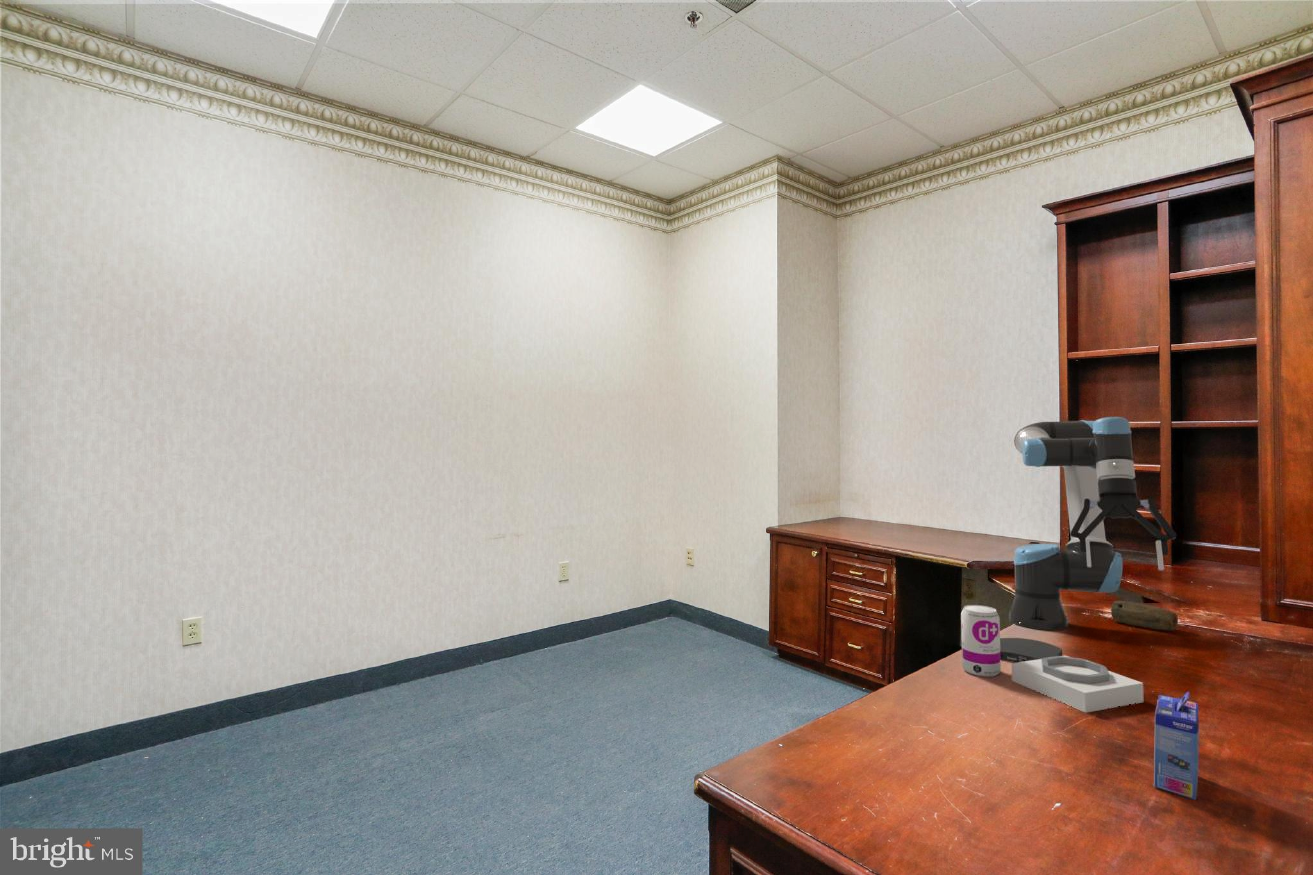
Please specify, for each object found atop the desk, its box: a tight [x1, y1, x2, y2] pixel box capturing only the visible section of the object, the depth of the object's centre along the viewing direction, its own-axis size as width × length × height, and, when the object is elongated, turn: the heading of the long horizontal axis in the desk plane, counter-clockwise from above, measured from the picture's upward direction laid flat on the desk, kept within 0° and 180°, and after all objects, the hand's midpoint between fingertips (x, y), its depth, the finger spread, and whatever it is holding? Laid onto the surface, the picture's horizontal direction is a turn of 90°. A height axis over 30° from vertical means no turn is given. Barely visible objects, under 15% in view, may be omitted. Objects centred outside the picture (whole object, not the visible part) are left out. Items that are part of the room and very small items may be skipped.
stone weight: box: [1110, 600, 1179, 631], centre depth 184 cm, size 15×7×7 cm, turn 42°
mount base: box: [1011, 655, 1145, 714], centre depth 138 cm, size 18×16×6 cm
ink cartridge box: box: [1153, 691, 1200, 801], centre depth 102 cm, size 10×6×14 cm, turn 139°
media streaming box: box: [1000, 637, 1063, 663], centre depth 161 cm, size 15×15×3 cm
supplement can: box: [960, 604, 1002, 678], centre depth 151 cm, size 8×8×15 cm
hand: (1124, 568), depth 148 cm, fingers open, 13 cm apart
